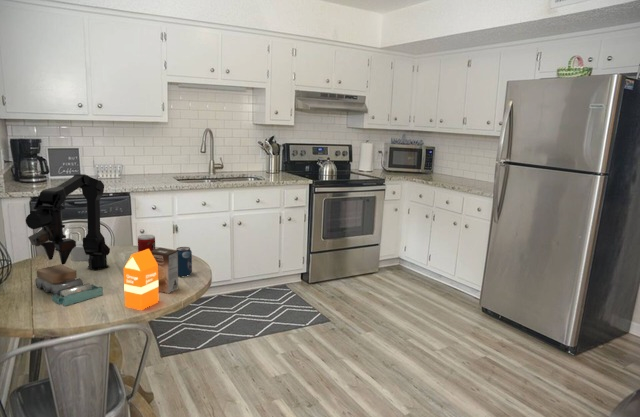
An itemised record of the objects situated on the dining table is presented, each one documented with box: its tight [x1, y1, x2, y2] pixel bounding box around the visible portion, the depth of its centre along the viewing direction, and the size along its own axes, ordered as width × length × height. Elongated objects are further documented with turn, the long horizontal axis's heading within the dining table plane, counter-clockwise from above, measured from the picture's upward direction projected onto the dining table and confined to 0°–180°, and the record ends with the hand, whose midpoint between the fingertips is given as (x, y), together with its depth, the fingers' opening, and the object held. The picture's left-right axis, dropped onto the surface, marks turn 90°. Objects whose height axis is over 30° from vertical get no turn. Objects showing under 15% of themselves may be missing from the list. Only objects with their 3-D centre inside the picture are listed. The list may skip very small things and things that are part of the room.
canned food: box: [137, 234, 156, 252], centre depth 211 cm, size 8×8×11 cm
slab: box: [36, 263, 78, 284], centre depth 170 cm, size 9×12×3 cm
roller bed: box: [35, 277, 104, 307], centre depth 168 cm, size 15×26×4 cm, turn 56°
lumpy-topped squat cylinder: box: [70, 239, 89, 262], centre depth 208 cm, size 10×13×9 cm
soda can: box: [175, 246, 193, 277], centre depth 191 cm, size 7×7×12 cm
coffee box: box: [151, 247, 179, 294], centre depth 173 cm, size 9×6×16 cm
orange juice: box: [123, 249, 160, 311], centre depth 158 cm, size 8×9×20 cm
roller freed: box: [59, 282, 92, 297], centre depth 164 cm, size 10×4×4 cm, turn 146°
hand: (57, 261), depth 170 cm, fingers open, 9 cm apart
